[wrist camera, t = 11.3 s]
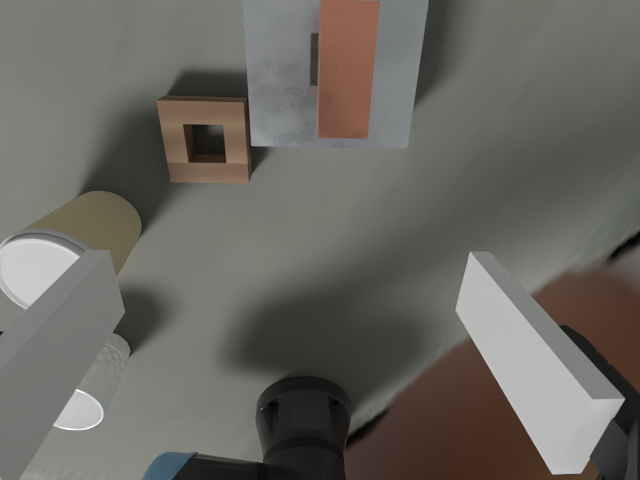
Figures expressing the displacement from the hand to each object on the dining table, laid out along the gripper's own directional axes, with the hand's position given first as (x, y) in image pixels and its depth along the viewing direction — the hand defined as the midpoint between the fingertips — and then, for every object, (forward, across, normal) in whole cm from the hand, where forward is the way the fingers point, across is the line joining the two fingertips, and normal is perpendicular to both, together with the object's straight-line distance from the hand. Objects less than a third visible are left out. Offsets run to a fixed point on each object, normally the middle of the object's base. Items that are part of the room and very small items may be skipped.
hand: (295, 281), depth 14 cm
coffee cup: (+29, +22, +11) cm, 38 cm away
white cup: (+30, +27, +31) cm, 51 cm away
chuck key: (+26, -3, -7) cm, 27 cm away
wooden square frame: (+29, +9, +1) cm, 30 cm away
